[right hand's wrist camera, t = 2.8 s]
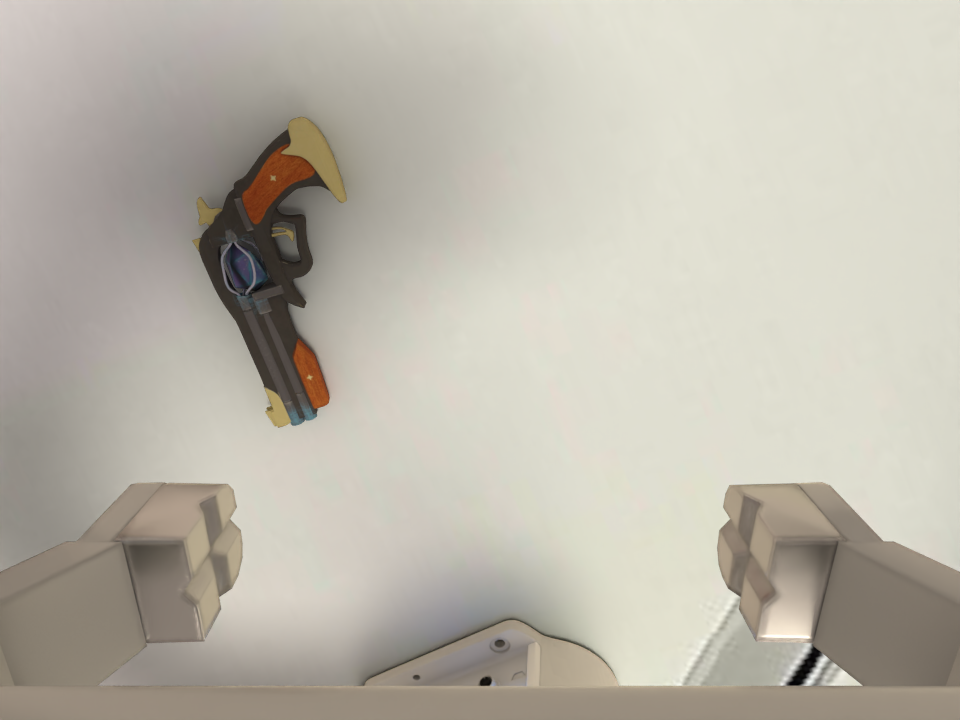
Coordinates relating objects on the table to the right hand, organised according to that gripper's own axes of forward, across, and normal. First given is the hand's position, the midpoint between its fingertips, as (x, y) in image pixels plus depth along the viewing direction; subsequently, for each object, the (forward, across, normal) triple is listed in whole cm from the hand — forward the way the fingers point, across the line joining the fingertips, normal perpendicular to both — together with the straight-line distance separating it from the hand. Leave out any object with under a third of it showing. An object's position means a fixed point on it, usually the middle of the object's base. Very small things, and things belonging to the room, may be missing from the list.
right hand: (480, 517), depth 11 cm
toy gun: (+32, +12, +4) cm, 35 cm away
